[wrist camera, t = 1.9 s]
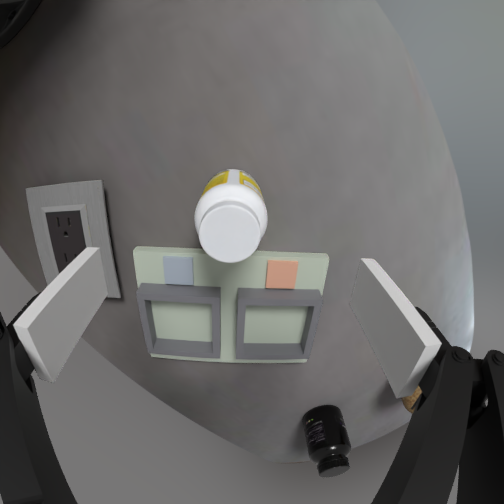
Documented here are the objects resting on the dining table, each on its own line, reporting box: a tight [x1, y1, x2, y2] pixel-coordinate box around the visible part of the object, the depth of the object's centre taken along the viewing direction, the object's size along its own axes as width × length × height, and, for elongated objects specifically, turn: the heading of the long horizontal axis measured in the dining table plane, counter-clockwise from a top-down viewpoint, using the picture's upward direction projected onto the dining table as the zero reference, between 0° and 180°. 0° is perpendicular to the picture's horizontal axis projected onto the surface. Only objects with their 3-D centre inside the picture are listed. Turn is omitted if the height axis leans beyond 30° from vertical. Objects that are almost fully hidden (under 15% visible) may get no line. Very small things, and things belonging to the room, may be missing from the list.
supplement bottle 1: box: [194, 169, 267, 263], centre depth 23 cm, size 5×5×10 cm
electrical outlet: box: [26, 180, 121, 298], centre depth 27 cm, size 13×10×2 cm
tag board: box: [133, 246, 329, 363], centre depth 31 cm, size 15×20×3 cm
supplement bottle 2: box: [303, 405, 351, 477], centre depth 38 cm, size 7×7×12 cm
